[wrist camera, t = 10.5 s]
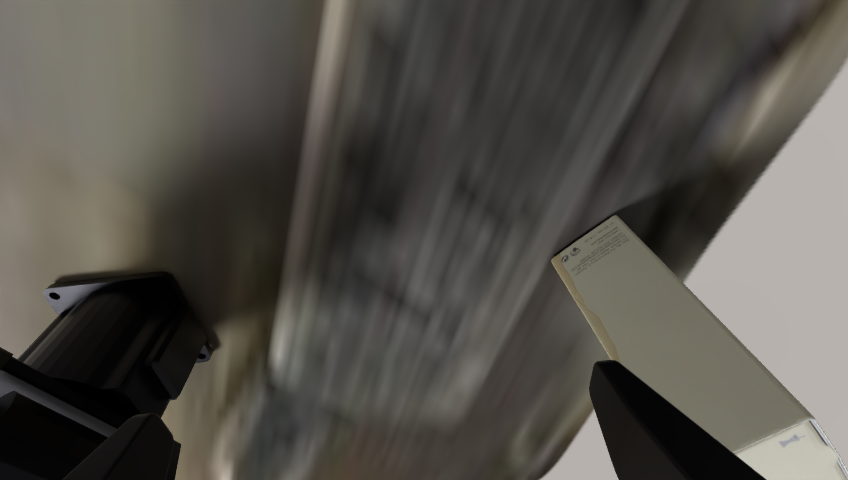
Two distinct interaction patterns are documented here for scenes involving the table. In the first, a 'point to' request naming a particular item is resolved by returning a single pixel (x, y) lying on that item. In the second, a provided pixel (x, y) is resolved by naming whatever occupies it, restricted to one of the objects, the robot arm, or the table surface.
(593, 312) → the skincare box
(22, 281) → the table surface
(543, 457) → the table surface
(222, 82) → the table surface
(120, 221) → the table surface
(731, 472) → the robot arm
